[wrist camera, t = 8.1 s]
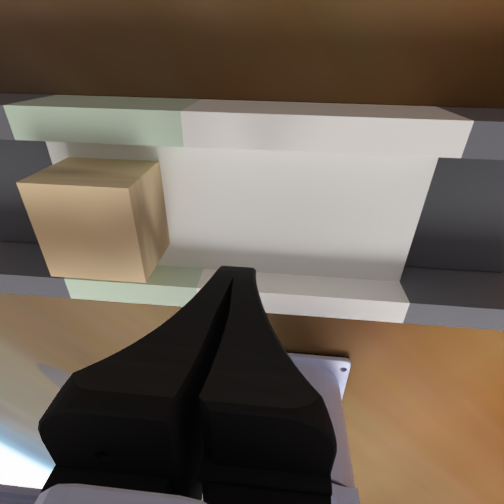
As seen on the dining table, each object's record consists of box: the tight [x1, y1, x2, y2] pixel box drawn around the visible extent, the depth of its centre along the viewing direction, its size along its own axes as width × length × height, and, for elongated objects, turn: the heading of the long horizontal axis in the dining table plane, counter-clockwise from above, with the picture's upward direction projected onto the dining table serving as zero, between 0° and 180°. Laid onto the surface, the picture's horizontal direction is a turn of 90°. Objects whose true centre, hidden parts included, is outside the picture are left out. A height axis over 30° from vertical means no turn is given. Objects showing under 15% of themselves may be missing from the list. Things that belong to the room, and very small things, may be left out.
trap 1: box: [404, 157, 504, 272], centre depth 19 cm, size 8×7×1 cm
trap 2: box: [0, 139, 53, 243], centre depth 21 cm, size 8×7×1 cm
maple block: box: [16, 157, 170, 283], centre depth 17 cm, size 5×5×4 cm
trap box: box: [0, 93, 504, 331], centre depth 18 cm, size 11×34×4 cm, turn 89°
